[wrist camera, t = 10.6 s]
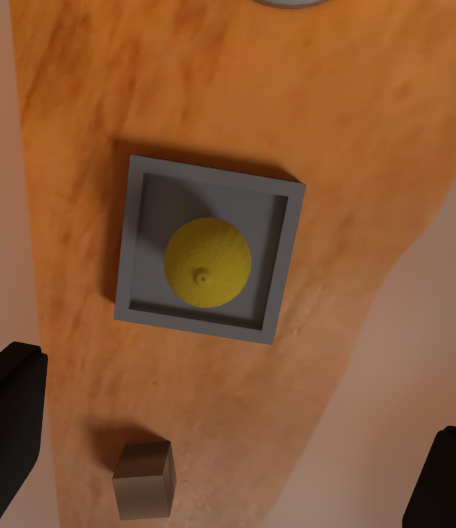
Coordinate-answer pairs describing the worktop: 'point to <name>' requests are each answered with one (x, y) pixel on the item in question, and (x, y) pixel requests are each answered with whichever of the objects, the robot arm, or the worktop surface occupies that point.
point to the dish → (191, 208)
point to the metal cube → (145, 481)
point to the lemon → (207, 262)
